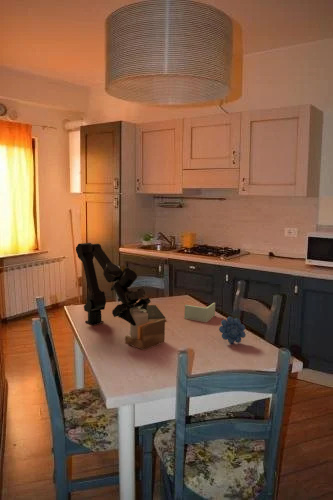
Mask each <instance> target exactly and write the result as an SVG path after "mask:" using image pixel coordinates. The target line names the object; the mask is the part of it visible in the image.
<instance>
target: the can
mask: <svg viewBox="0 0 333 500" xmlns="http://www.w3.org/2000/svg"><path fill="white" fill-rule="evenodd" d="M131 316H132V318H133V319H134V321H135V324H136V325H135V326H133V325H132V324H130V323H129V325H130V327H129V328H130V330H129V333H130V334H129V336H130V337H133V338H136V339H138V326H140V325H143V324H146V323H149V322H148V313H147V311H146V310H145V309H134V310H132V313H131Z"/></svg>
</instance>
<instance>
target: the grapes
mask: <svg viewBox="0 0 333 500" xmlns="http://www.w3.org/2000/svg"><path fill="white" fill-rule="evenodd" d="M220 324H221V326H219V328H218V331H219V332H220V333H221V338H222V339H223V340H225V341H226V340H227V341H228V343H229V344H232V343H233V344H235V343H238V344H240V343H241V342H242V339H244V338H245V337H246V332H245V330H246V325H244V324H243V323H242V322H241V320H240V318H237V317H236V318H234V317H233V316H228V317H227V318H226V319H222V320H221V322H220Z"/></svg>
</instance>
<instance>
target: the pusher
mask: <svg viewBox="0 0 333 500" xmlns="http://www.w3.org/2000/svg"><path fill="white" fill-rule="evenodd" d="M152 322H155V321H152ZM152 322H148V323H146V324H149V323H152ZM146 324H143V325H146ZM143 325H140V326H138V339H139V340H142V337H143Z"/></svg>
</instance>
